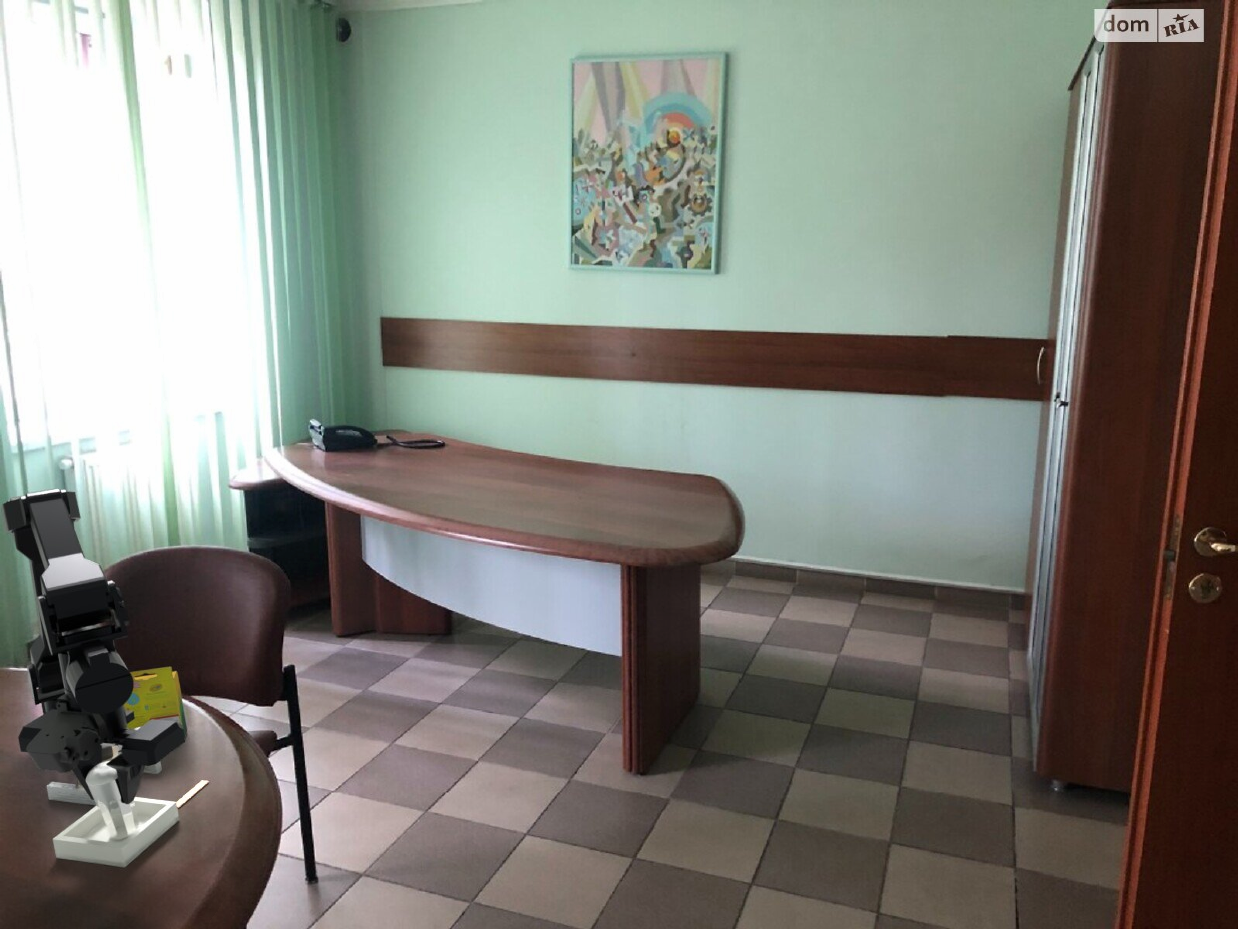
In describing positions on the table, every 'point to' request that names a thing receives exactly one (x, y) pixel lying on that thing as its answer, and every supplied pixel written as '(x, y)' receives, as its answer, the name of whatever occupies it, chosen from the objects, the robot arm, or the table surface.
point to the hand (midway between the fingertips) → (112, 800)
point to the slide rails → (80, 796)
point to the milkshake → (112, 802)
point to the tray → (96, 845)
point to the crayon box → (156, 698)
